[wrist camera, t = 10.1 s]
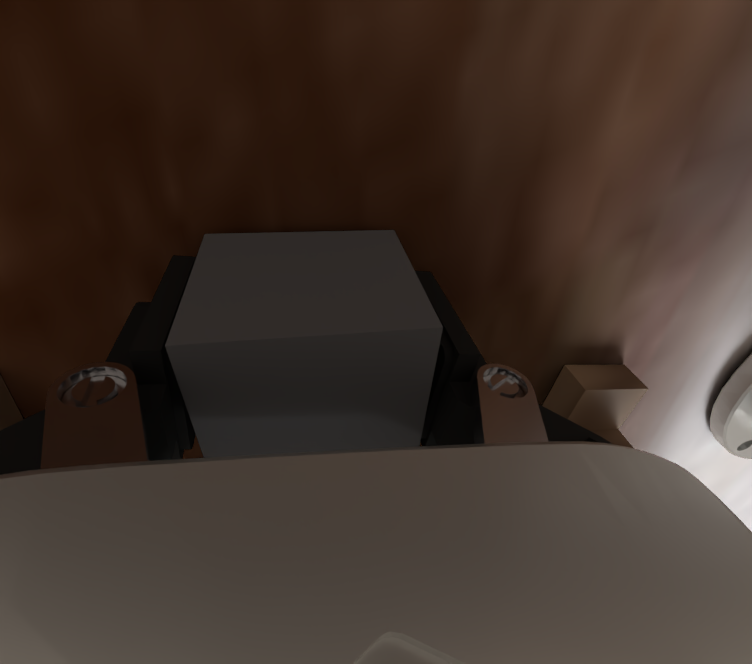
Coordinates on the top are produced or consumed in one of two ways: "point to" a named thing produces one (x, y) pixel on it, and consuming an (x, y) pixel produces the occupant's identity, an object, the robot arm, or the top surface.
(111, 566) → the robot arm
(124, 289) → the top surface
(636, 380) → the door frame
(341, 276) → the block
